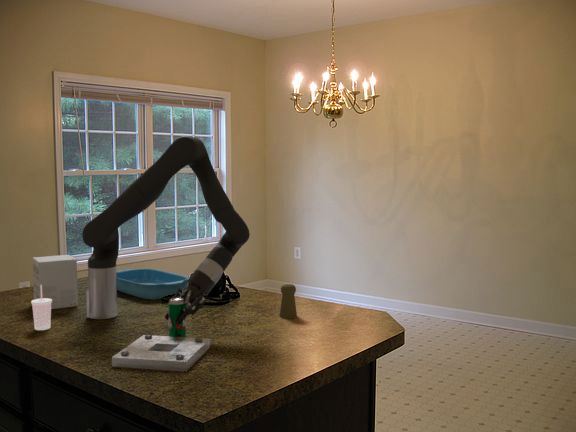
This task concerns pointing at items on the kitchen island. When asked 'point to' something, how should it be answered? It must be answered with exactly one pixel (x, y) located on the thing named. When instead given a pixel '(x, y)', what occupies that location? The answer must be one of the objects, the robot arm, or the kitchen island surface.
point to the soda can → (173, 311)
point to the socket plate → (161, 353)
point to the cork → (288, 301)
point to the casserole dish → (149, 283)
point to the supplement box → (56, 280)
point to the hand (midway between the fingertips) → (171, 321)
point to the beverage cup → (42, 312)
